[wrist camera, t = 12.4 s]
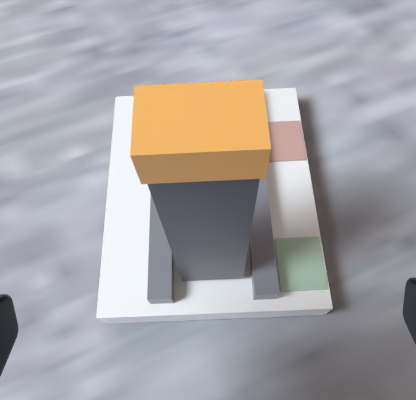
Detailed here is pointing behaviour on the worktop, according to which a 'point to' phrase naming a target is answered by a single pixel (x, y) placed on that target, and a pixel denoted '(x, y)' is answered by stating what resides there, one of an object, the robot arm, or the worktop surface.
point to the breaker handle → (203, 168)
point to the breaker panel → (257, 249)
